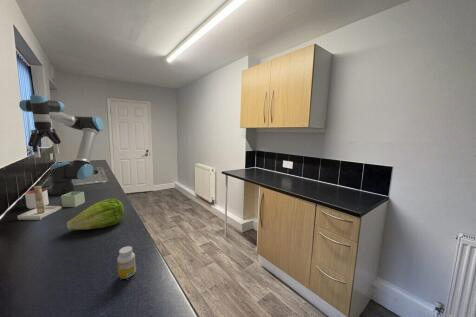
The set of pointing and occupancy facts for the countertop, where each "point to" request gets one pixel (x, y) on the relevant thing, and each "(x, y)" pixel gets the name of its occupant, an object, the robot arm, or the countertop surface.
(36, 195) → the dowel
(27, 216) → the dish
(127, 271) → the supplement bottle
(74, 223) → the lettuce
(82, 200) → the pen pot
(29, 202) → the cup
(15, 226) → the countertop surface
